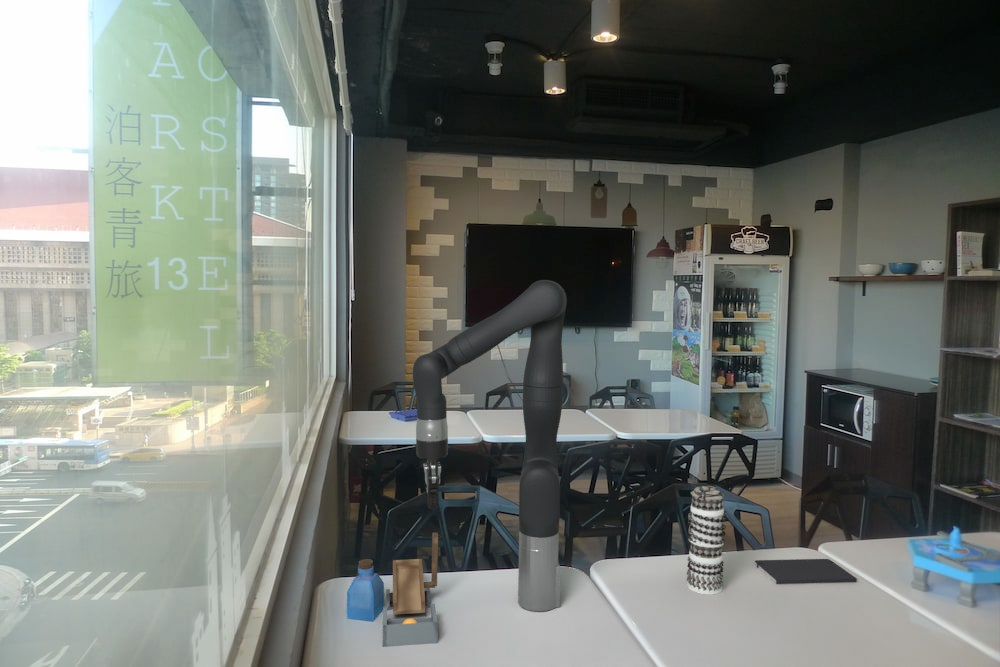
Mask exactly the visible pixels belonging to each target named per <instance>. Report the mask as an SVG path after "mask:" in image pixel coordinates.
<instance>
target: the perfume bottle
mask: <svg viewBox="0 0 1000 667" xmlns="http://www.w3.org/2000/svg"><path fill="white" fill-rule="evenodd" d="M373 562H374V561H373V560H372V559H370V558H365V559H364V558H363V559H361V560H359V561H358V567H357V574H356V576H355V577H354V578H353V579H352V581H351V583H350V585H349V586H348V588H347V591H346V619H347V620H354V621H355V620H356V621H363V622H373V623H374V622H375V621H376V620H377V619H378V617H379V615H380V614H381V613H383V611H382V610H383V607H385V593H384V592H385V583H384V581H383V579H382V578H381V577H380V575H379V574H378V573H375V572H374V570H375V569H374V565H373Z"/></svg>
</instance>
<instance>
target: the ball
mask: <svg viewBox="0 0 1000 667" xmlns="http://www.w3.org/2000/svg"><path fill="white" fill-rule="evenodd" d="M405 619H406V620H405V621H404V622H403V623H402V624H410V623H417V621H416V620H414V619H412V618H405Z"/></svg>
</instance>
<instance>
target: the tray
mask: <svg viewBox="0 0 1000 667" xmlns="http://www.w3.org/2000/svg"><path fill="white" fill-rule="evenodd" d="M436 608H437V607H436V603H430V609H431V610H430V617H415V618H414V617H413V618H412V619H414V620H416V621H417V623H410V624H402V623H403V622H404V621H405V620H406V619H407V618H398V619H388V610H387V606H386V605H385V606H384V607H383V611H382V647H383V648H384V647H396V646H397V647H399V646H410V645H411V646H412V645H414V646H415V645H426V644H438V640H439V639H438V636H439V635H438V634H439V633H438V628H439V627H438V625H439V624H438V615H437V610H436Z"/></svg>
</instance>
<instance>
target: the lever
mask: <svg viewBox="0 0 1000 667" xmlns="http://www.w3.org/2000/svg"><path fill="white" fill-rule="evenodd" d="M431 534H432V536H431V537H432V538H431V540H432V541H431V581H425V580H424V568H423V559H422V558H414V559H413V558H411V559H393V560H392V592H393V610H392V615H393V616H394V615H405V614H406V615H408V614H422V613H426V608H425V592H424V591H425V589H426V588H430V589H436V587H438V554H439V553H438V552H439V549H438V548H439V546H438V545H439V534H438V532H432V533H431Z"/></svg>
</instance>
